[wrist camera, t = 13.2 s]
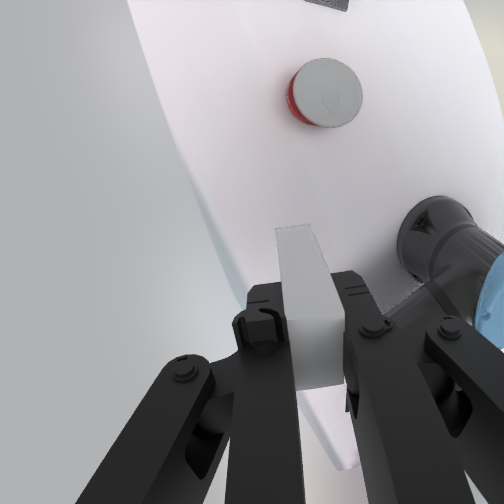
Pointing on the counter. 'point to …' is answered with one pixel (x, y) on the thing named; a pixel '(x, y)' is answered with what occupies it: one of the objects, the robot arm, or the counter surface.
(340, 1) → the gate post
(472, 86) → the counter surface
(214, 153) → the counter surface
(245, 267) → the counter surface
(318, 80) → the canned food
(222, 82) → the counter surface
